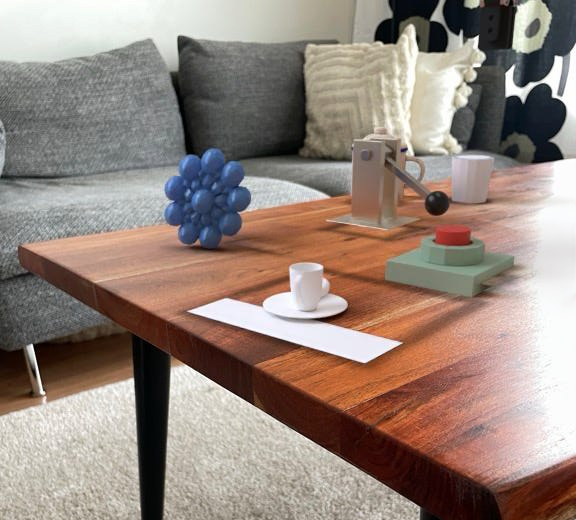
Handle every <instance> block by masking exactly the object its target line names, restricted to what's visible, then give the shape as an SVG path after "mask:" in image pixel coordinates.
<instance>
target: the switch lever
mask: <svg viewBox="0 0 576 520" xmlns="http://www.w3.org/2000/svg"><path fill="white" fill-rule="evenodd" d="M375 140H376V141H380V140H379V139H375ZM391 153H392V150H391V149H390V148H388V147H387V146H386V145H385V164H384V166H385V167H386V168H387V169H388V170H389V171H391V172H392V173H393V174H394V175H395V176H397V177H398V178H399V179H400V180H401V181H403V182H404V184H406V185H407V186H409V187H410V188H409V189H411V190H412V191H413V192H414V193H416V194H417V195H418V196H419V197H420V198H421V199H423V200H424V209H425V211H426V213H427V214H429V215H430V216H433V217H440V216H442V215H444V214H446V213H447V212H448V210H449V208H450V204H451V202H450V197H449V196H448V194H447V193H446V192H444V191H442V190H434V191H431V190H430V189H429V188H428V187H426V186H425V185H424V184H423V183H421V182H419V181H418V180H417V178H415V177H414V176H413V175H412V174H411V173H410V172H408V171H407V170H406V169H405V170H404V169H403V168H402V167H401V166H400V165H398V164H397V163H396V162H395V161H394V160H392V159H391V158H390V155H391Z"/></svg>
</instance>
